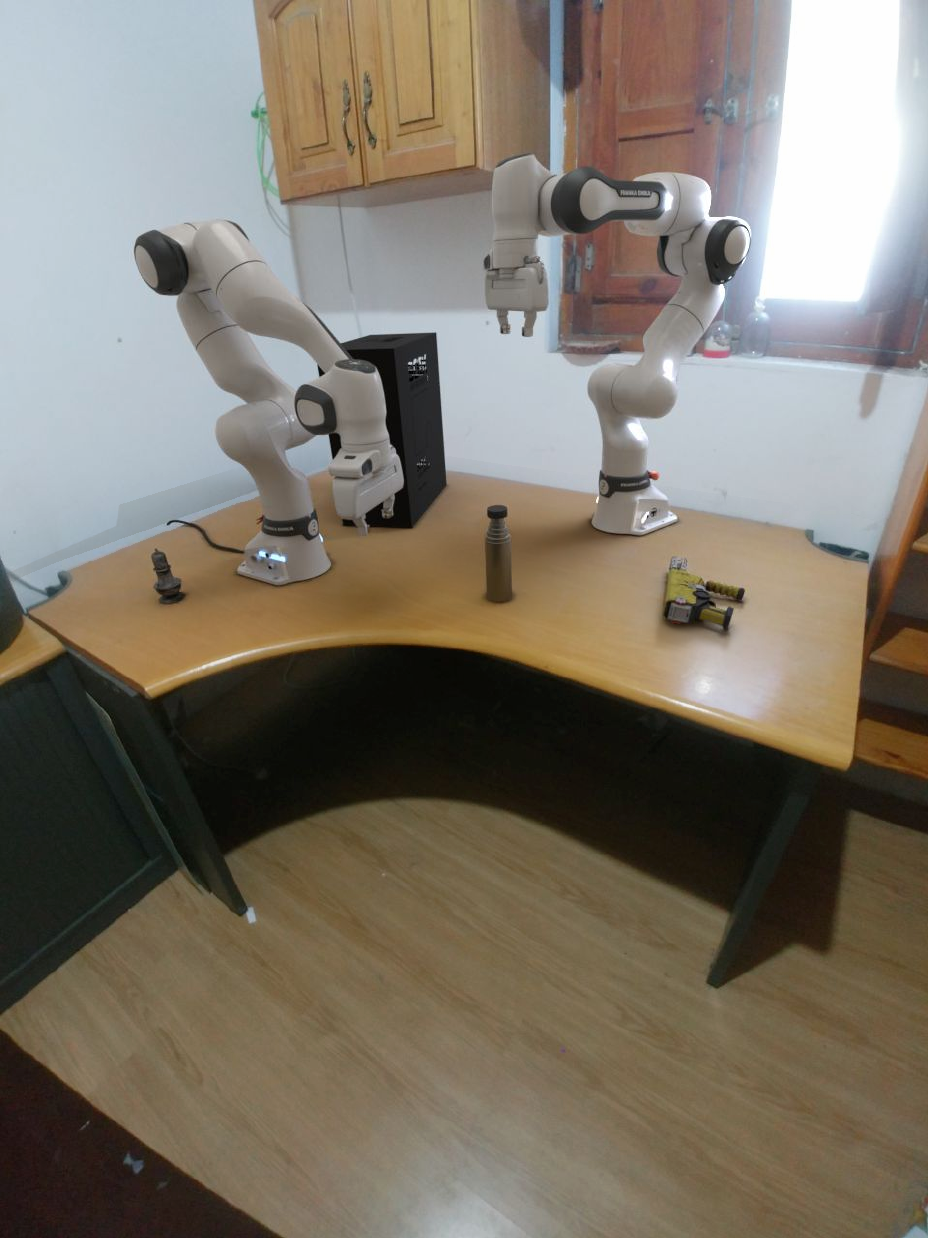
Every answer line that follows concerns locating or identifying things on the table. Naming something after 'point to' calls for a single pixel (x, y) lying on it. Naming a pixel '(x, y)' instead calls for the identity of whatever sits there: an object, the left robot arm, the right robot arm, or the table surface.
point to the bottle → (498, 561)
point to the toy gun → (695, 597)
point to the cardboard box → (406, 419)
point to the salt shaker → (166, 579)
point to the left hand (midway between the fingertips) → (376, 525)
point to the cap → (497, 512)
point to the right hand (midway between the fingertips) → (516, 335)
